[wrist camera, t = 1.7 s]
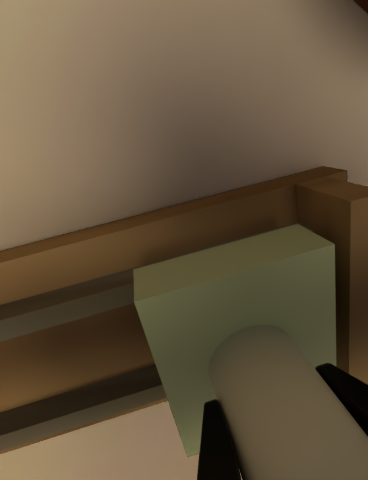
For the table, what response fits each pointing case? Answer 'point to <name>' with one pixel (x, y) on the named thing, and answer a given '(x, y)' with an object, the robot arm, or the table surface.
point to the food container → (363, 4)
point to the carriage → (255, 352)
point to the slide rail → (123, 307)
